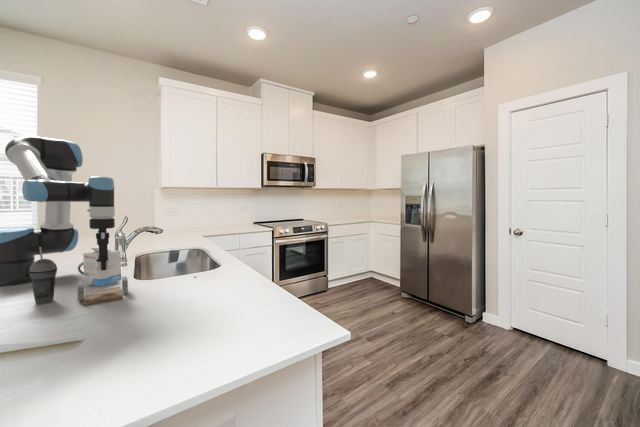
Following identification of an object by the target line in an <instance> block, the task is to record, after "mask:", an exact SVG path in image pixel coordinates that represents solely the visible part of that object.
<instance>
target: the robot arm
mask: <svg viewBox="0 0 640 427" xmlns="http://www.w3.org/2000/svg"><path fill="white" fill-rule="evenodd" d="M4 148H5V150H4V153H5V156H6V158H7V159H8V160H9V162H10V163H12V164H14V165H15V166H16V168H17V169H18V171H19V173H20V175H21V176H22V178H23V179H24V180H23V183H22V186H21V190H22V196H23V199H24V200H25V201H27V202H38V203H43V202H44V203H45V210H44V211H45V212H44V214H45V216H44V217H45V218H44V222H43V223H41V224H40V225H39V226H40V227H39V229H35V228H34V227H32V226H27V227H15V228H10V229H3V230H0V285H1V286H10V285H13V286H14V285H19V284H24V283H29V282H32V279H31V277H30V273H29V271H30V267H31V265H32V264H33V263H34V262H36V261H35V256H38V255H39V256H40V249H39V247H41V249H42V255H46V254H47V255H48V254H57V253H65V252H70V251H73V250H74V249H75V248H76V247H77V245H78V242H79V231H78V228H76V227H74V224H73V223H71V222H70V219H71V206H72V204H71V202H73V203H75V202H76V203H77V202H78V203H81V202H82V203H88V206H89V208H88V209H86V212H89V213H88V214H89V228H90V229H91V230H97V232H96V233H95V238H96V245H97V246H98V248H99V259H96V261H97V262H99V279H105V278H108V250H109V249H108V245H109V244H110V242H109V238H110V233H109V232H107V229H114V228H115V226H116V223H115V218H114V217H115V215H116V210H115V188H116V187H115V183H114V179H113V178H112V177H107V176H90V177H88V181H87V182H84V181H83V182H80V181H72V179H73V174H74V173H76V172H77V168H80V167H82V165H83V160H84V159H83V158H84V157H83V152H82V150H81V147H80V145H78V144H77V143H76V142H73V141H70V140H65V139H58V138H57V139H56V138H51V137H50V138H49V137H42V136H36V135H24V136H20V137H15V138H13V139H12V140H10V141H9V142H8V143H7V144H6V145H5V147H4Z"/></svg>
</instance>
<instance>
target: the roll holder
mask: <svg viewBox="0 0 640 427" xmlns="http://www.w3.org/2000/svg"><path fill="white" fill-rule="evenodd" d="M128 280H129V279H128V277H127V276H126V275H125V276H121V282H122V284H121V285H122V288H121V286H113V287H107V288H106V287H105V288H100V289H93V290H86V291H85V294H84V281H81V282H80V281H79V282H78V283H77V289H76V290H77V301H82V300H84V301H83V302H84V304H83V306H91V305H96V304H103V303H109V302H114V301H119V300H123V298H124V297H123V294H127V293H129V290H128V289H129V287H128V286H129V281H128ZM122 292H123V293H122Z"/></svg>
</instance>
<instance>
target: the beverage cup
mask: <svg viewBox="0 0 640 427" xmlns="http://www.w3.org/2000/svg"><path fill="white" fill-rule="evenodd" d="M39 249H40V255H39V256H40V259H38V260H36V261H35V262H34V263H33V264H32V265H31V267H30V271H29V273H30V277H31V279H32V281H31V284H32V285H31V286H32V292H33V297H34V301H35V302H34V303H35V305H44V304H49V303H52V302H53V301H54V297H55V288H56V287H55V286H56V277H57V276H56V275H57V272H58V266H57V264H56V262H54V260H52V259H49V258H43V254H42V249H41V247H39Z"/></svg>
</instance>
